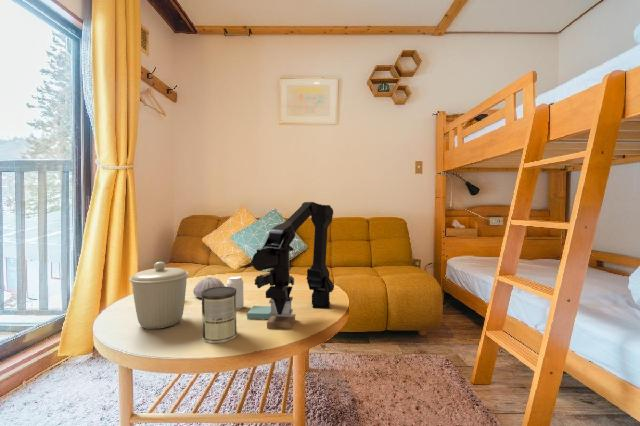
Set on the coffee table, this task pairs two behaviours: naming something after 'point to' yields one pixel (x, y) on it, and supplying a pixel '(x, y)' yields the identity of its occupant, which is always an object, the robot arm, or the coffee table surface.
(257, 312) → the stand
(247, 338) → the coffee table surface
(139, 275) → the canister
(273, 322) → the brown flat square block
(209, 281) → the sea urchin shell
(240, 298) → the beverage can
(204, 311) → the coffee can
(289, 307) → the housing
